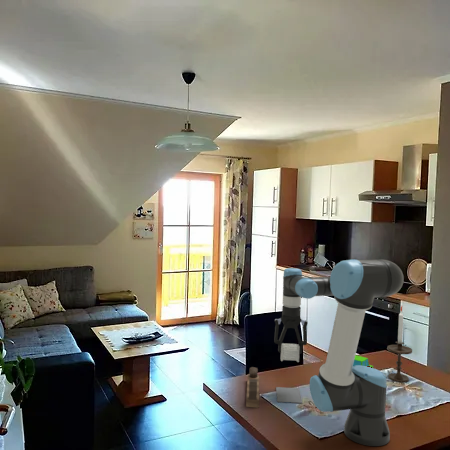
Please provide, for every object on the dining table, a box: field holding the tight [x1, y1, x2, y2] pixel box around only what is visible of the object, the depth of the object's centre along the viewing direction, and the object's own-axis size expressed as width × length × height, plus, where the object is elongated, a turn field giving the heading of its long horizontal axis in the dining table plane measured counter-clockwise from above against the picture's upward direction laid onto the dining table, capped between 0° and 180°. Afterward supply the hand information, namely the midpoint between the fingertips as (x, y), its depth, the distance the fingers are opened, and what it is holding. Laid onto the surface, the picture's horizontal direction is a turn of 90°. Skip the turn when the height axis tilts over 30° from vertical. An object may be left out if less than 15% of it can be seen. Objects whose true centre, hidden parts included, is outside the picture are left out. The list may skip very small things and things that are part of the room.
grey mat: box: [275, 386, 303, 404], centre depth 183 cm, size 14×10×1 cm
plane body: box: [245, 366, 260, 408], centre depth 184 cm, size 26×5×10 cm, turn 176°
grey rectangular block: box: [282, 342, 298, 362], centre depth 183 cm, size 9×6×4 cm, turn 176°
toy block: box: [353, 354, 374, 368], centre depth 206 cm, size 10×13×10 cm
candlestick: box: [386, 305, 413, 383], centre depth 204 cm, size 11×11×35 cm
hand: (289, 360), depth 183 cm, fingers closed on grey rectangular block, 6 cm apart
